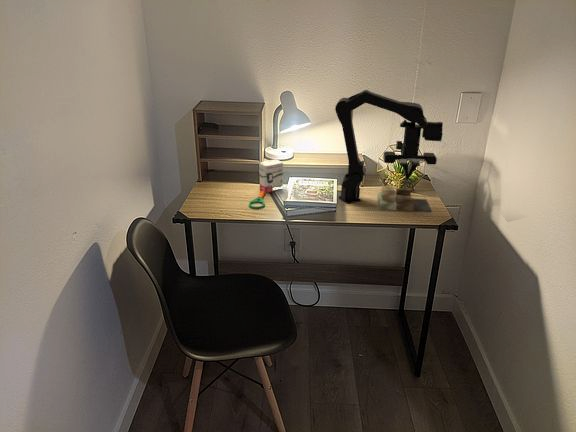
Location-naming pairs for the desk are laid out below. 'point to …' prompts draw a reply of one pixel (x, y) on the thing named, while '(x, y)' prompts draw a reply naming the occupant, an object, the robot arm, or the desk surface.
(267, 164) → the ink box
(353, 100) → the robot arm
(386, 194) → the maple block
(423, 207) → the tunnel course
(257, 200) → the magnifying glass
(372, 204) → the desk surface
